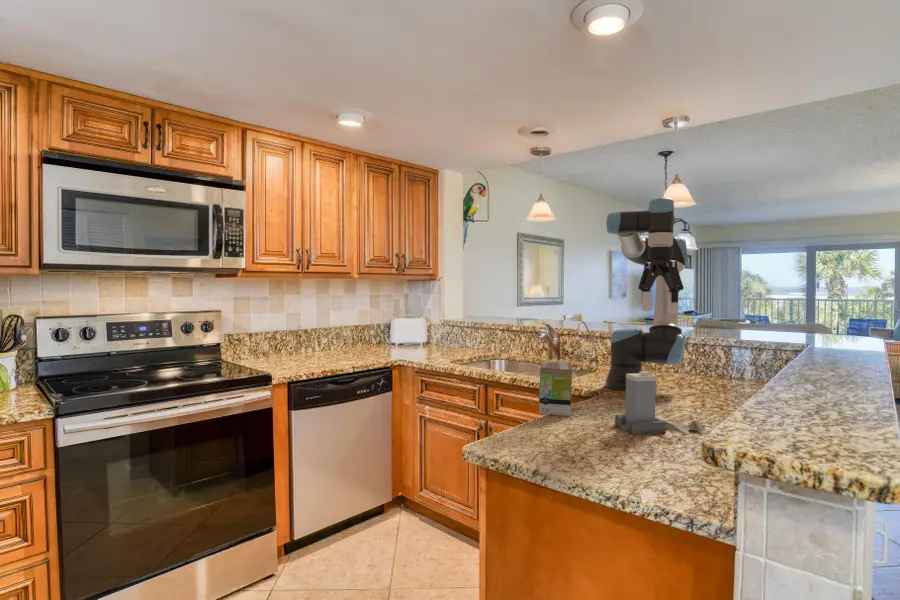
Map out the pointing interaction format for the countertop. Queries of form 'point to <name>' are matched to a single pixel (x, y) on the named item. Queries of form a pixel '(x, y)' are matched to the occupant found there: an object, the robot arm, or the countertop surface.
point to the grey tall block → (640, 397)
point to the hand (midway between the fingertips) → (659, 312)
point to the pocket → (640, 425)
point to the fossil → (683, 427)
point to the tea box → (555, 388)
